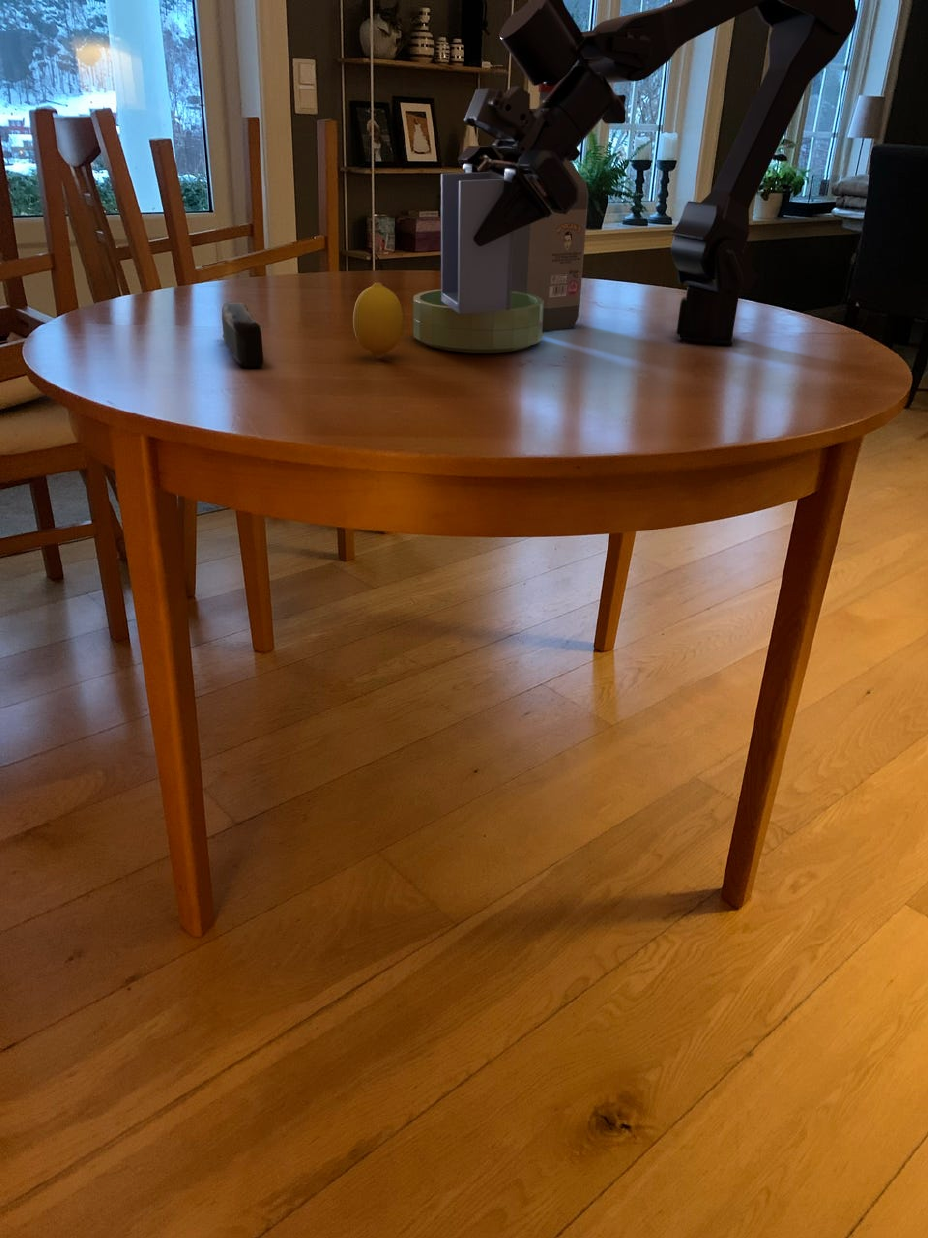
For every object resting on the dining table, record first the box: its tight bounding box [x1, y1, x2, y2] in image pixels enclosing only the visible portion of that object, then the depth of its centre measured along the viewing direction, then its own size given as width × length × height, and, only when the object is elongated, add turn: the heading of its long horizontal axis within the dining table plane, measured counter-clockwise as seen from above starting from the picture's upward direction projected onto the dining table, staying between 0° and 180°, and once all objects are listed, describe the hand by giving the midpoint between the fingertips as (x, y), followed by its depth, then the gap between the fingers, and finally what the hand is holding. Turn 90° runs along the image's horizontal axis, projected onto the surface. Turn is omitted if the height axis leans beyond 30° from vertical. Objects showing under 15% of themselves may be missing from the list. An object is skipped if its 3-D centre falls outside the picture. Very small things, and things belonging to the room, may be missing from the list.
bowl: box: [412, 288, 544, 354], centre depth 109 cm, size 16×16×5 cm
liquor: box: [511, 81, 590, 332], centre depth 113 cm, size 9×9×30 cm
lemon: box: [352, 282, 404, 359], centre depth 99 cm, size 6×6×8 cm
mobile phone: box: [221, 302, 264, 368], centre depth 99 cm, size 5×3×15 cm
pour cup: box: [440, 172, 513, 314], centre depth 96 cm, size 6×6×13 cm
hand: (462, 238), depth 96 cm, fingers closed on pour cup, 7 cm apart
